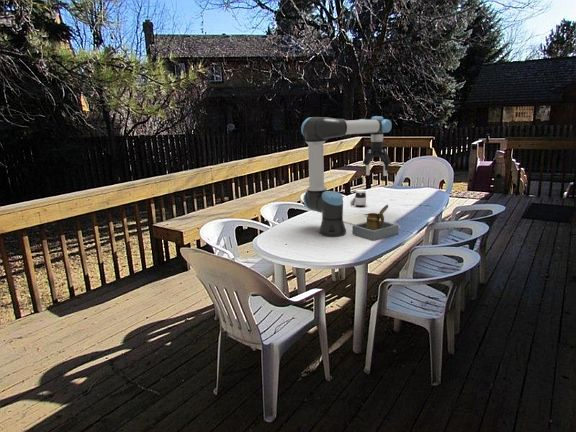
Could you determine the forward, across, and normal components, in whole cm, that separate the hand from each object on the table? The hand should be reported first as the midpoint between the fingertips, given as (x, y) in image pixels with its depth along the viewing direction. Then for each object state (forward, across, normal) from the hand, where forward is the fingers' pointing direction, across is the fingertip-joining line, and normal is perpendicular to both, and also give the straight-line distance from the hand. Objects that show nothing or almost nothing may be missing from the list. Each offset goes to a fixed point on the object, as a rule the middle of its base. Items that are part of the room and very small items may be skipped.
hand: (376, 175), depth 272 cm
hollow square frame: (+31, -23, +29) cm, 48 cm away
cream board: (+28, +5, +14) cm, 32 cm away
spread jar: (+24, +30, -18) cm, 43 cm away
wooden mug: (+31, -23, +29) cm, 49 cm away
